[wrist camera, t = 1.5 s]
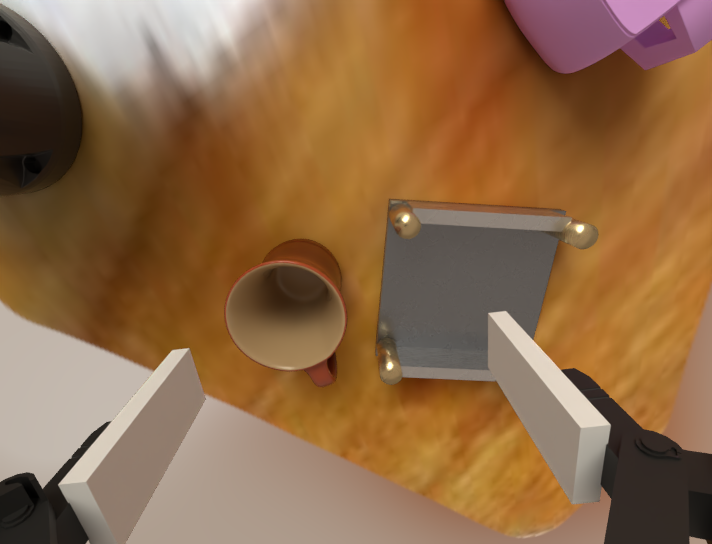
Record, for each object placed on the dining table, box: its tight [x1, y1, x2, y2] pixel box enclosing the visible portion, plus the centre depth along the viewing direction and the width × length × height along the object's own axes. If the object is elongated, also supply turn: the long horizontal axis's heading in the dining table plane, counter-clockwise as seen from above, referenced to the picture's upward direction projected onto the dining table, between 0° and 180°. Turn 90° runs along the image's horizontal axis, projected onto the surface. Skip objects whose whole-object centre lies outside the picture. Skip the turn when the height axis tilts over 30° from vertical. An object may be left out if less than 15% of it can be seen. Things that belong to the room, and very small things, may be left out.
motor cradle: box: [375, 199, 598, 385], centre depth 33 cm, size 16×16×6 cm
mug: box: [224, 239, 347, 387], centre depth 31 cm, size 12×9×10 cm
